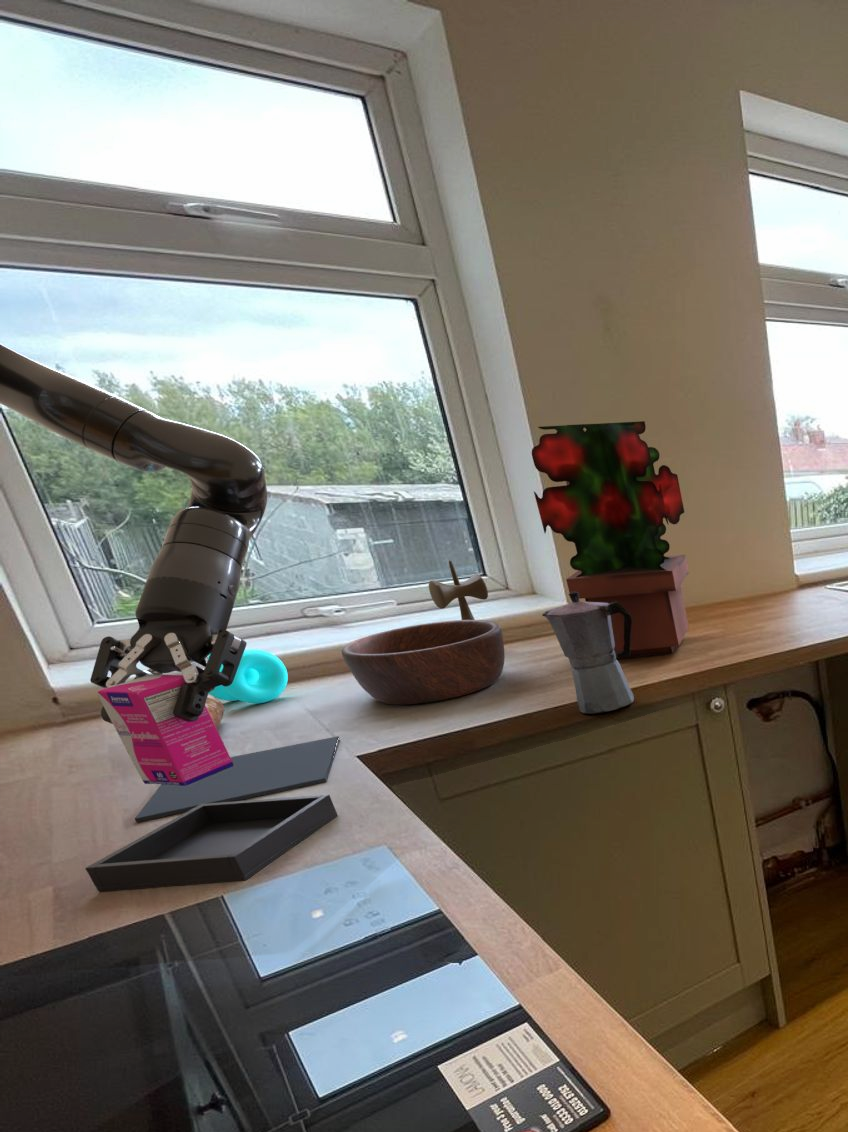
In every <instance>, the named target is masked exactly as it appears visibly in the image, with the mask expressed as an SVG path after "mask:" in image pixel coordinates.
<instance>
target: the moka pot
mask: <svg viewBox="0 0 848 1132" xmlns="http://www.w3.org/2000/svg"><path fill="white" fill-rule="evenodd" d="M568 596H569V599H570V601H571V602H569V603H567V604H564V605H561V606H558V607H553V608H550V609H548V610H545V611H544V612H543V613H542V614H541V615H542V617H545V618H546V619H547V620H548V622H549V624H550V627H551V628H552V630H553V633H554V635H555V637H556V639H557V641H558V644H559V646H560V648H561V650H562V652H563V654H564V657H565V658H567V659H568V661H569V663H570V664H569V665H570V667H572V679H573V684H574V690H575V695H576V703H577V707H578V711H579V712H580V713H582V714H586V715H592V714H602V713H607V712H612V711H616V710H618V709H621V708H624V707H626V706H628V705H631V704H633V702H634V701H635V696H634V694H633V691H632V689H631V686H630V685H629V683H628V680H627V678H626V676H625V674H624V672H623V669H622V666H621V664H620V661H619V660H617V659H616V657H618V658H619V659H624V658H623V657H627V656H630V646H631V644H630V641H631V629H632V627H631V626H632V620H631V614H630V613H629V612H627V610H626V609H625V608H623V607H621V605H620V604H618V602H613V603H611V604H608V603H602V602H586V601H583V600H580V599H579V592H571V593H569V592H568ZM616 613H621V614H622V615H623V616H624V642H625V643H624V647H623V650H624V651H623V652H617V653H616V654H615V651H614V647H615V642H614V635H613V629H612V623H611V616H610V615H614V614H616Z"/></svg>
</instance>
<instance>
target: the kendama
mask: <svg viewBox="0 0 848 1132" xmlns="http://www.w3.org/2000/svg"><path fill="white" fill-rule="evenodd" d="M448 565H449V569H450V575H451V577H452V580H453V584H446V583H443V582H440V581H437V580H429V582H428V591H429V594H430V597H431V599H432V601H433V604H434V605H435V606H436V607H437V608H438V609H440V610H442V609H443V610H444V609H445V608H446V607H447V606H448V605H449V604H451V602H452V601H454V600H456V599H457V601H458V606H459V611H460V618H461V619H460V620H476V619H475V617H474V615H473V613H472V611H471V608H470V606H469V603H468V601H467V598H466V597H470V598H475V599H478V600H482V601H484V600H487V599H488V598H489V591H488V586H487V583H486V582H485V580H484V578H483V577H482V576H481V574H478V573H477V574H473V575H471V576H469V578H468V579H466V580H465V581H464V582H460V580H459V577H458V574H457V571H456V569H455V566H454V564H453V561H452V560H449V561H448Z"/></svg>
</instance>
